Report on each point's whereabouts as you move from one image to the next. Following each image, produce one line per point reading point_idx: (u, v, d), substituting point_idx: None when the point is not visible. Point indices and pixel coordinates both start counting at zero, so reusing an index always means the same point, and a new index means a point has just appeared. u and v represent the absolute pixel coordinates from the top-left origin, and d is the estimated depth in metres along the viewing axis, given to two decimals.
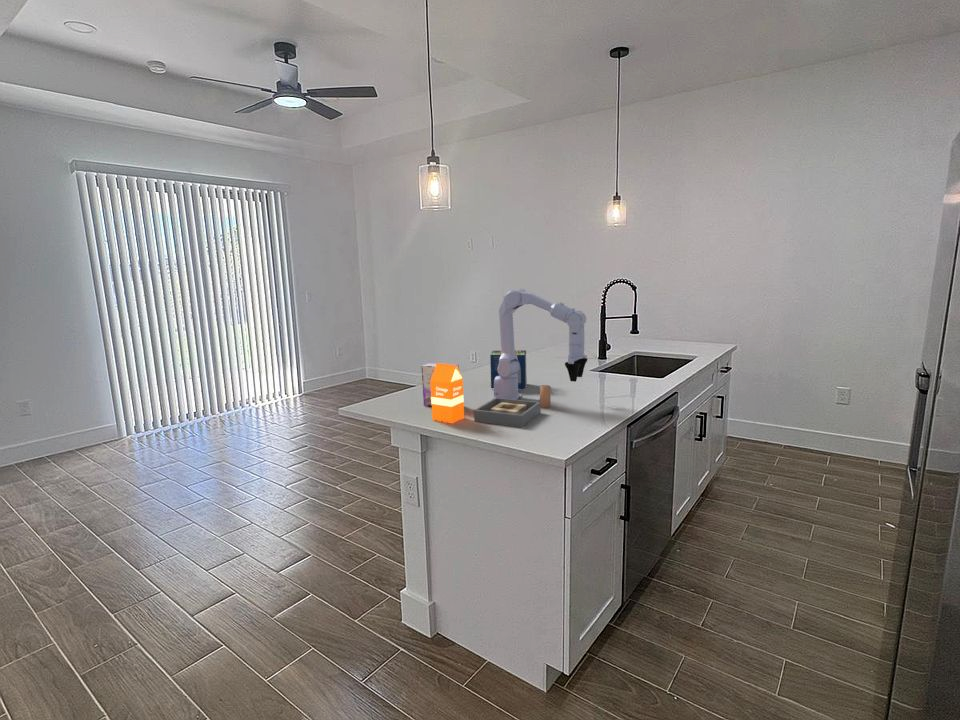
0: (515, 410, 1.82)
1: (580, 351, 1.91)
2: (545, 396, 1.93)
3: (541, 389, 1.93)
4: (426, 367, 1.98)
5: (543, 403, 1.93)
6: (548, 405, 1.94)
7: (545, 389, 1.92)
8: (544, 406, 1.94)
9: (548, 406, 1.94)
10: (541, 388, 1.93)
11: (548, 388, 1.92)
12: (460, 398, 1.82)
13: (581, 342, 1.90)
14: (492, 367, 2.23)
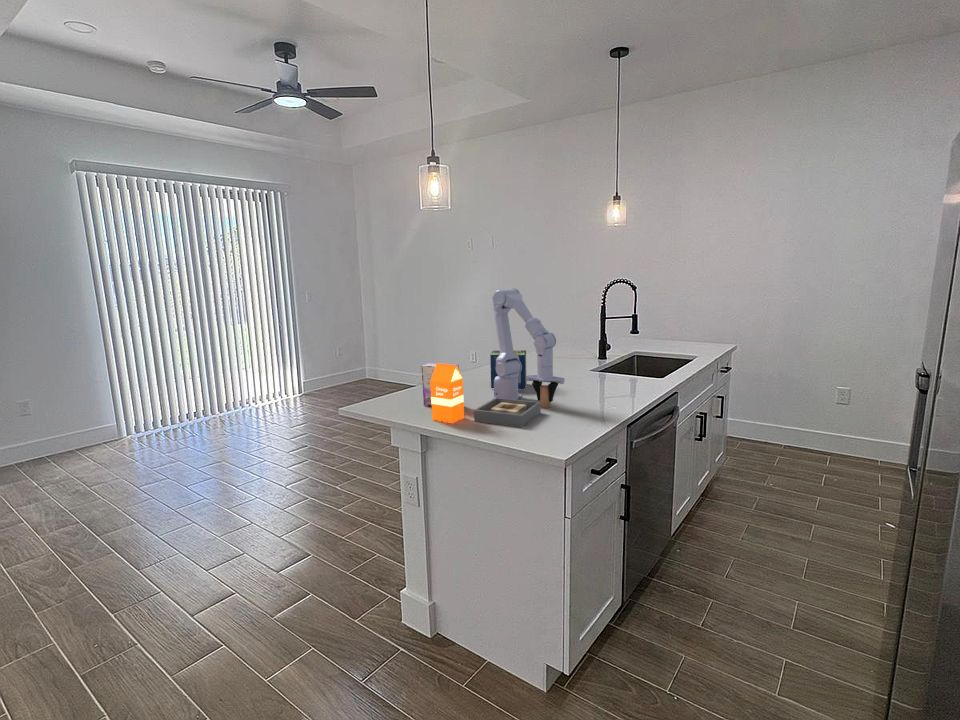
0: (515, 410, 1.82)
1: (538, 373, 1.92)
2: (545, 396, 1.93)
3: (541, 389, 1.93)
4: (426, 367, 1.98)
5: (543, 403, 1.93)
6: (548, 405, 1.94)
7: (545, 389, 1.92)
8: (544, 406, 1.94)
9: (548, 406, 1.94)
10: (541, 388, 1.93)
11: (548, 388, 1.92)
12: (460, 398, 1.82)
13: (547, 364, 1.90)
14: (492, 367, 2.23)
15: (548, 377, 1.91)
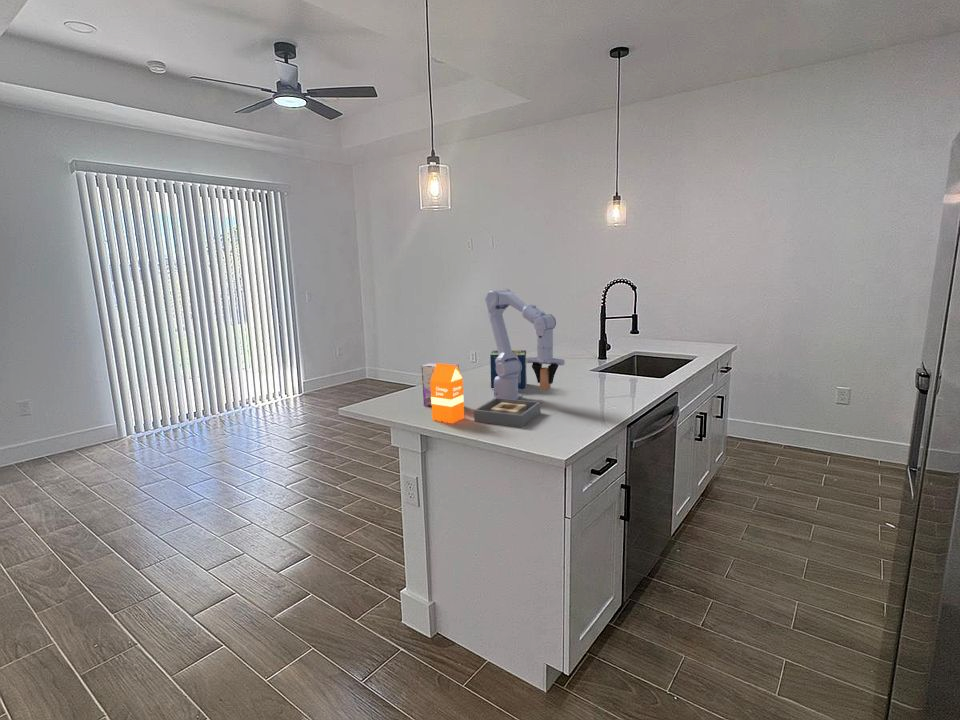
0: (515, 410, 1.82)
1: (538, 354, 1.91)
2: (545, 378, 1.91)
3: (541, 371, 1.92)
4: (426, 367, 1.98)
5: (543, 385, 1.92)
6: (548, 387, 1.92)
7: (545, 371, 1.91)
8: (544, 388, 1.92)
9: (548, 388, 1.92)
10: (541, 370, 1.92)
11: (548, 370, 1.91)
12: (460, 398, 1.82)
13: (547, 346, 1.88)
14: (492, 367, 2.23)
15: (548, 359, 1.89)
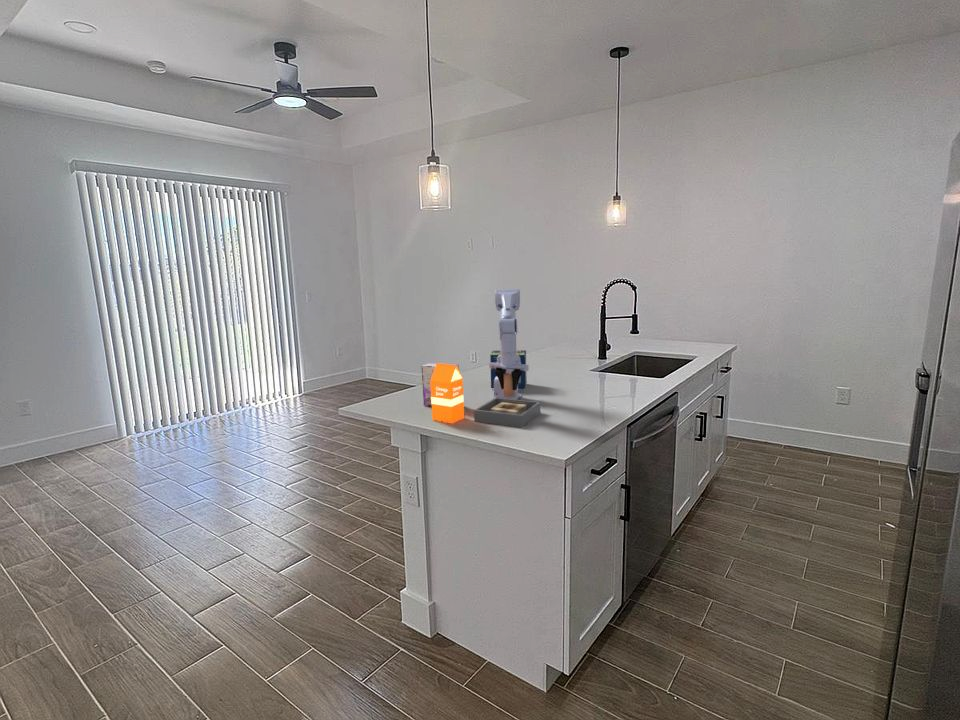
0: (515, 410, 1.82)
1: (501, 359, 1.83)
2: (508, 384, 1.83)
3: (504, 377, 1.84)
4: (426, 367, 1.98)
5: (507, 392, 1.84)
6: (512, 394, 1.84)
7: (508, 377, 1.83)
8: (507, 395, 1.84)
9: (512, 395, 1.84)
10: (504, 376, 1.84)
11: (511, 376, 1.83)
12: (460, 398, 1.82)
13: (503, 350, 1.81)
14: None
15: (511, 364, 1.81)
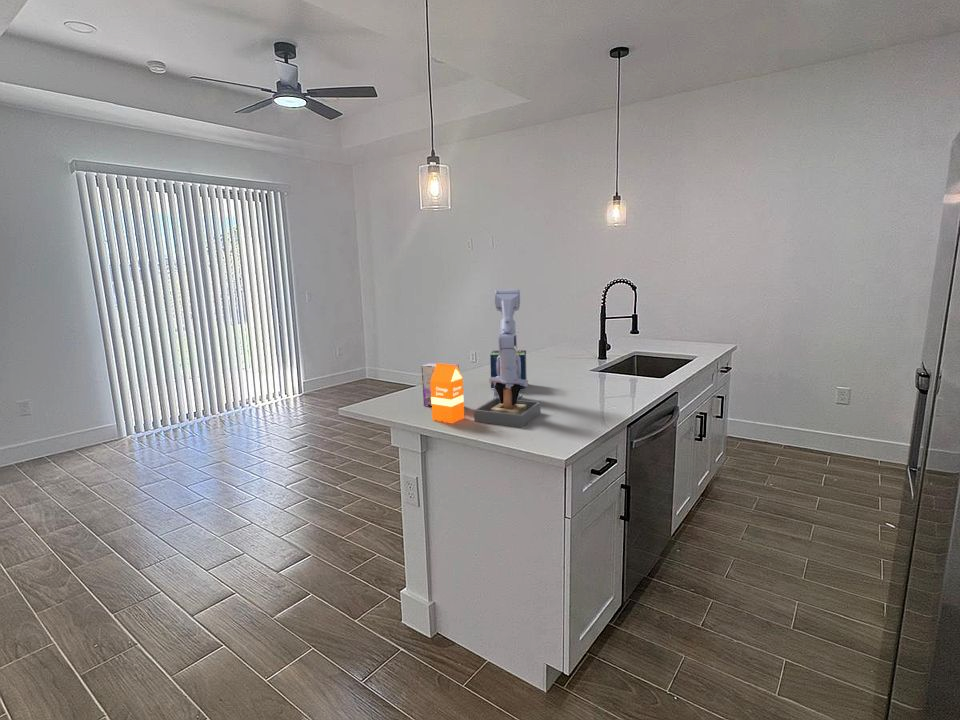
0: (515, 410, 1.82)
1: (500, 375, 1.84)
2: (508, 399, 1.84)
3: (504, 392, 1.85)
4: (426, 367, 1.98)
5: (506, 407, 1.85)
6: (511, 408, 1.85)
7: (508, 392, 1.84)
8: None
9: None
10: (504, 391, 1.85)
11: (511, 391, 1.84)
12: (460, 398, 1.82)
13: (503, 366, 1.82)
14: (492, 367, 2.23)
15: (511, 379, 1.82)
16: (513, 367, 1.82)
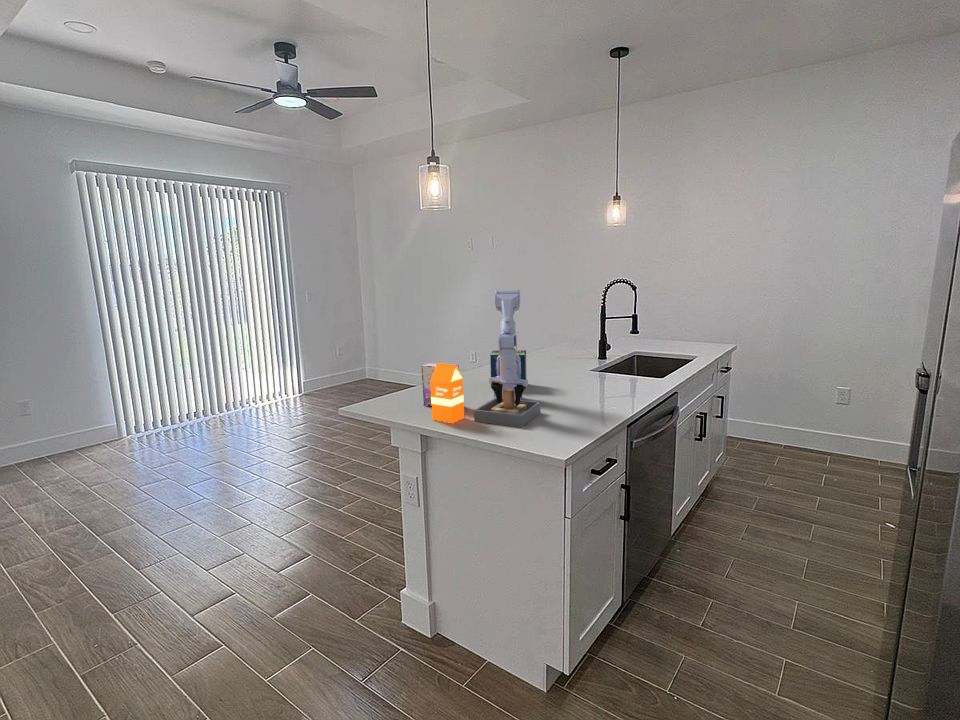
0: (515, 410, 1.82)
1: (500, 375, 1.84)
2: (508, 401, 1.84)
3: (504, 393, 1.85)
4: (426, 367, 1.98)
5: (506, 408, 1.85)
6: None
7: (508, 393, 1.84)
8: None
9: None
10: (504, 392, 1.85)
11: (511, 393, 1.84)
12: (460, 398, 1.82)
13: (503, 366, 1.82)
14: (492, 367, 2.23)
15: (511, 379, 1.82)
16: (513, 367, 1.82)
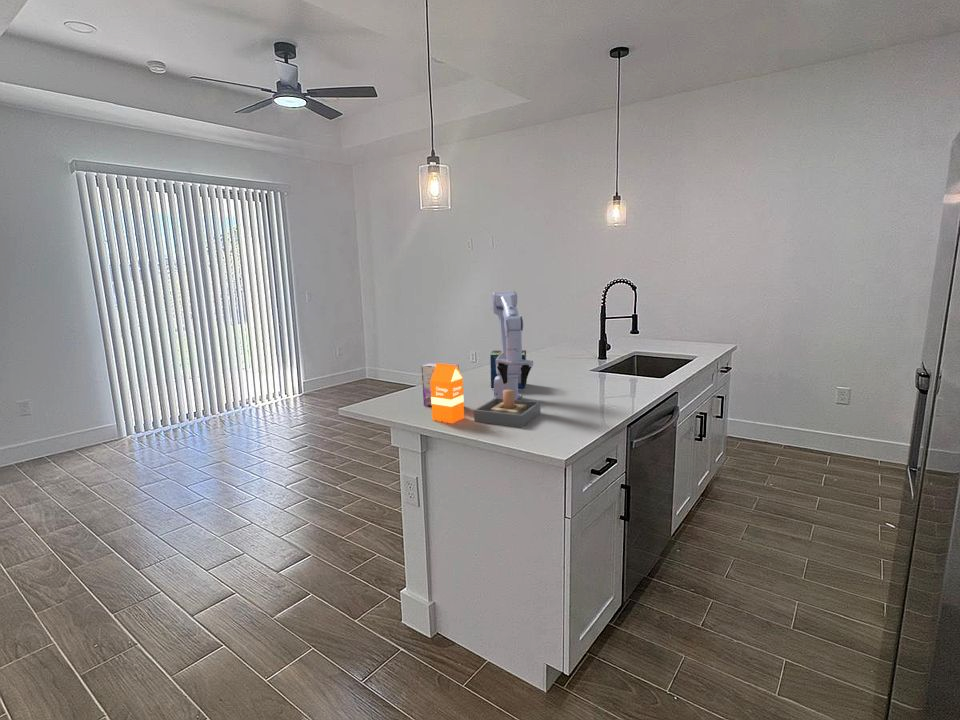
0: (515, 410, 1.82)
1: (506, 356, 1.90)
2: (508, 401, 1.84)
3: (504, 393, 1.85)
4: (426, 367, 1.98)
5: (506, 408, 1.85)
6: None
7: (508, 393, 1.84)
8: None
9: None
10: (504, 392, 1.85)
11: (511, 393, 1.84)
12: (460, 398, 1.82)
13: (510, 347, 1.88)
14: (492, 367, 2.23)
15: (517, 360, 1.89)
16: (520, 348, 1.89)
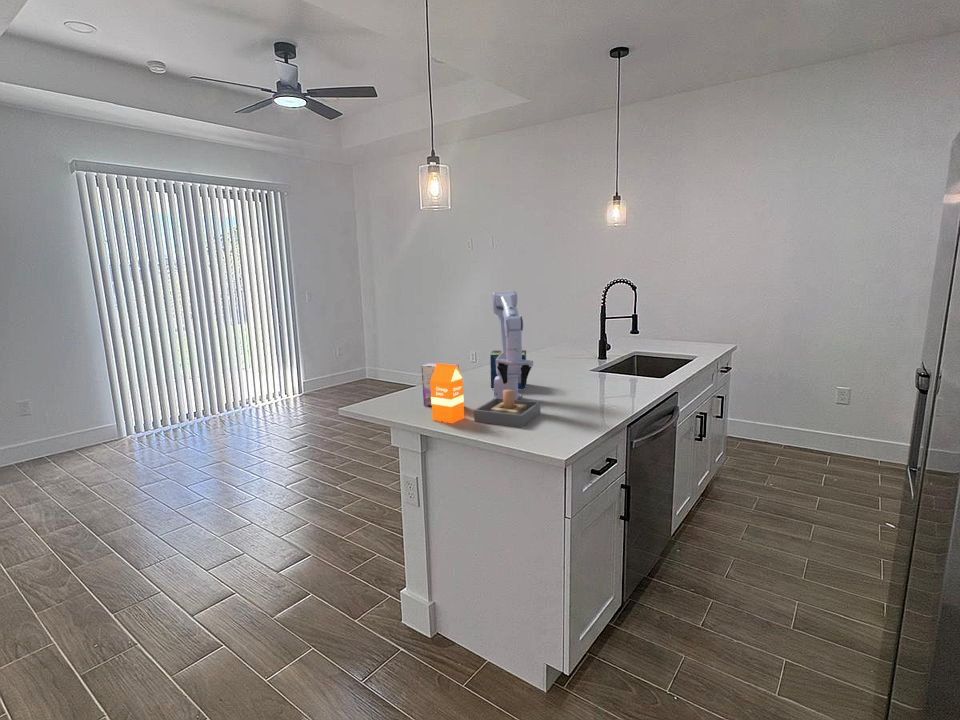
0: (515, 410, 1.82)
1: (506, 356, 1.90)
2: (508, 401, 1.84)
3: (504, 393, 1.85)
4: (426, 367, 1.98)
5: (506, 408, 1.85)
6: None
7: (508, 393, 1.84)
8: None
9: None
10: (504, 392, 1.85)
11: (511, 393, 1.84)
12: (460, 398, 1.82)
13: (510, 347, 1.88)
14: (492, 367, 2.23)
15: (517, 360, 1.89)
16: (520, 348, 1.89)
